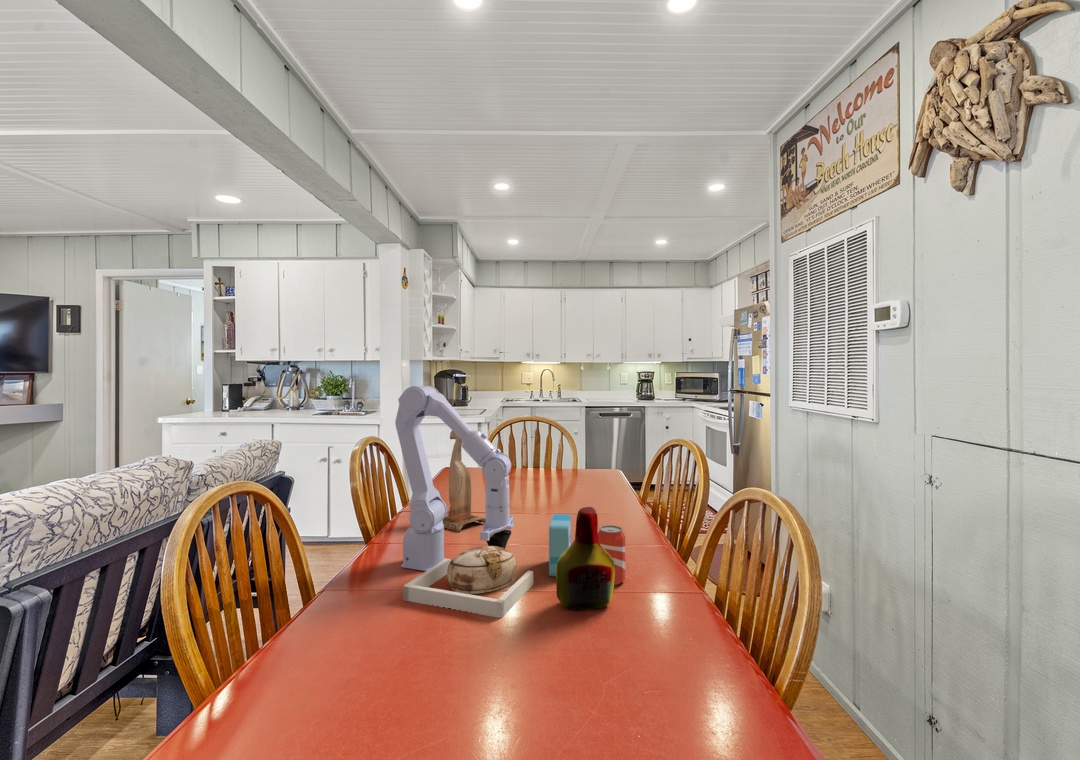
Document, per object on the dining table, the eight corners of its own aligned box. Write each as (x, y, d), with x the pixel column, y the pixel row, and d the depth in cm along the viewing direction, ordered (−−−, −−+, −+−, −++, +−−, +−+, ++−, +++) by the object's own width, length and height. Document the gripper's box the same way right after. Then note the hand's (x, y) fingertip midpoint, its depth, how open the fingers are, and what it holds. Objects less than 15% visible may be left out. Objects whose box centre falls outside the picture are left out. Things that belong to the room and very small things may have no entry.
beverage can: (627, 578, 119) (627, 526, 119) (619, 589, 114) (619, 534, 113) (602, 574, 122) (602, 523, 122) (593, 584, 116) (593, 530, 116)
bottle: (612, 599, 109) (612, 503, 108) (617, 613, 102) (617, 512, 102) (555, 599, 109) (555, 503, 108) (556, 613, 102) (556, 512, 102)
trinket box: (438, 592, 112) (438, 555, 112) (472, 567, 126) (472, 535, 126) (494, 602, 107) (493, 564, 107) (523, 575, 121) (523, 542, 121)
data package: (568, 579, 119) (568, 527, 119) (549, 578, 119) (548, 526, 119) (571, 560, 131) (570, 512, 131) (553, 559, 131) (552, 512, 131)
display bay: (403, 600, 108) (403, 585, 108) (445, 571, 124) (445, 558, 124) (501, 618, 100) (501, 602, 100) (533, 584, 116) (533, 571, 116)
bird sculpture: (460, 519, 169) (457, 420, 168) (487, 524, 162) (484, 421, 162) (434, 527, 160) (431, 423, 159) (462, 533, 153) (458, 424, 153)
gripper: (499, 514, 116) (500, 575, 117) (524, 499, 130) (524, 553, 130) (471, 511, 119) (472, 570, 119) (498, 497, 132) (498, 550, 133)
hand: (497, 561), depth 125 cm, fingers closed
